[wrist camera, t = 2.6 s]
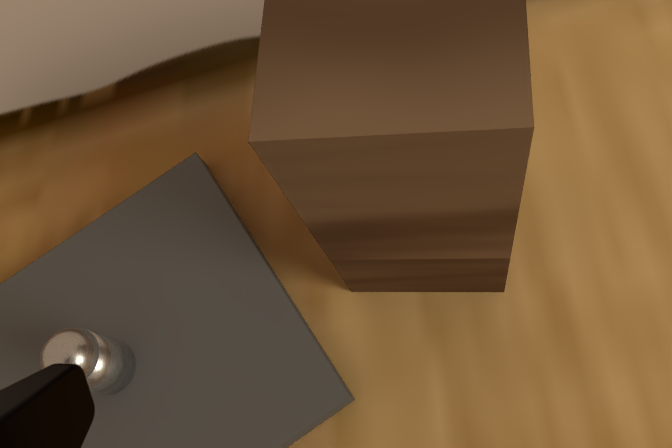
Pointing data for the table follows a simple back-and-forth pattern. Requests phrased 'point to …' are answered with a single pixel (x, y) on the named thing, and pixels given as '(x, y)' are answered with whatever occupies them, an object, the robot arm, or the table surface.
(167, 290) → the charcoal base plate
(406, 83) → the walnut block
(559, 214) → the table surface
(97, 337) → the steel pin
